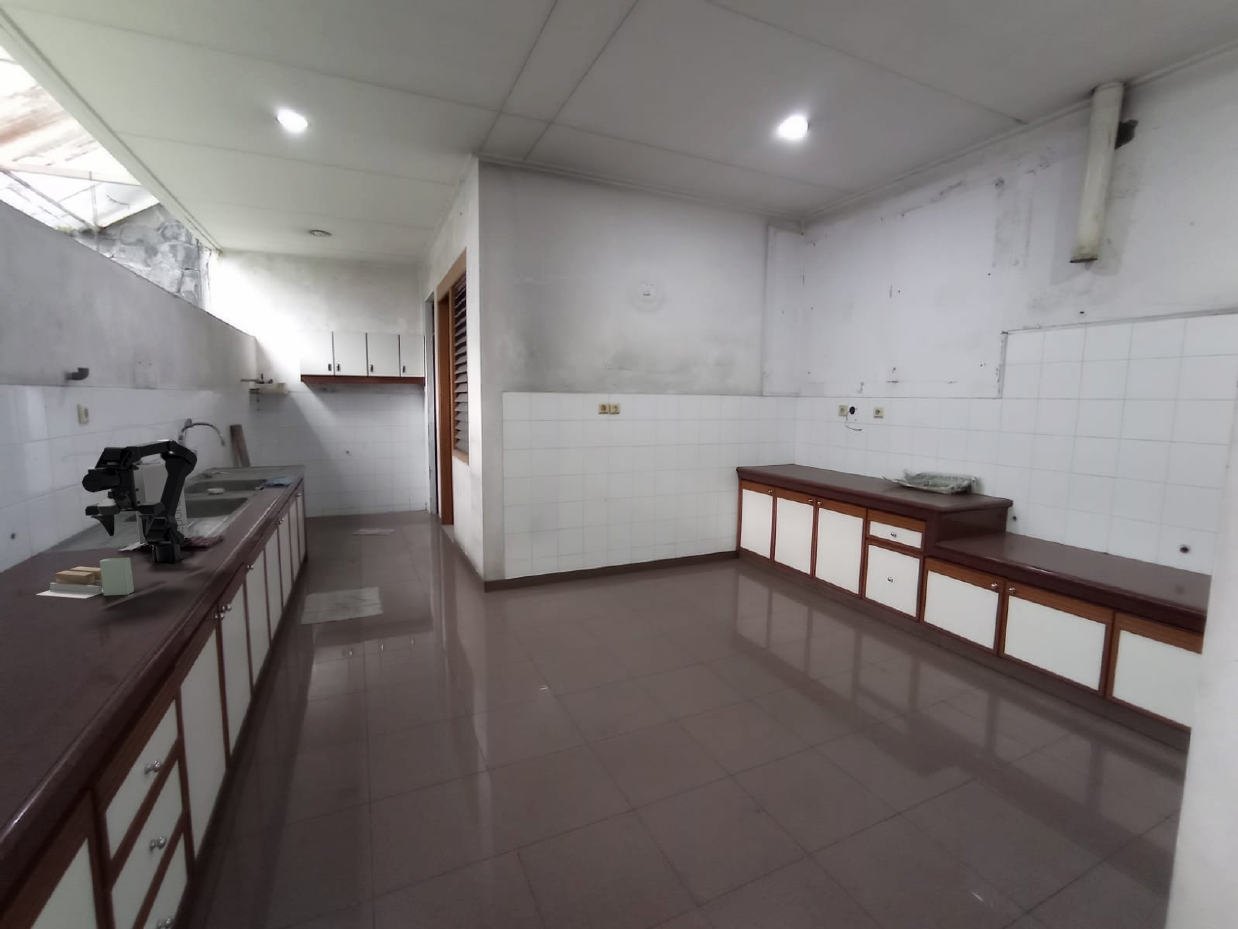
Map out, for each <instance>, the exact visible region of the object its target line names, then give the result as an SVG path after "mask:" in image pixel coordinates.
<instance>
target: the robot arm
mask: <svg viewBox="0 0 1238 929" xmlns="http://www.w3.org/2000/svg"><path fill="white" fill-rule="evenodd" d="M154 455H159V457H160V459H161V460H163V461H164V463H165V468H166V470H167V473H168V476H167V479H166V483H165V486H164V490H163V493H162V496H161V500H160V502H148V503H145V504H142V505H138V504H140V501H137V496H136V492H137V491H139V488H135V479H134V470H139V467H137V466H138V465H136V464H135V463H137V462H139V461H140V460H141V459H142V458H146V457H150V456H154ZM197 462H198V457H197V455H196V454H195V453H194V452H193V451H191V449H190V448H187V447H185V446H183V445H181V444H179V443H178V442H177V441H176V440H173V439H158V440H155V441H150V442H146V443H139V444H134V445H127V446H126V445H108V446H106V447H104V448H103V451H102V452H101V455H100V457H99V458H98V460H97V462H96V464H95V465H94V468H89V469H87V473H86V474H85V475H84V477H83V478H82V480H81V485H82V487H83V489H84V490H85V491H86V492H88V493H99V492H103V491H107V496H106V498H104V499H103V500H102V501H100V502H98V503H95V504H91V505H87V506H86V507H85V509H84V515H85V516H86V517H87V516H89V517H90V518H91V519H95V520H97V521H99V522H100V523H101V525H102V526H103V527H104V529H105V531H106V533H107V534H108V535H109V537H113V536H114V535H115V516H116V515H119V514H120V513H121V512H124V513H125V512H136V511H139V512H140V513H141V514H142V515H139V517H140V518H141V520H142V531H143V535H144V537H145V539H146V541H147V544H148V546H150V547H151V545H153V548H152V550H151V551H152V559H153V561H152V563H155V564H156V563H157V564H166V565H167V564H168V565H169V564H174V563H177V562H178V561H180V560H184V558H185V557H184V556H182V555H181V547H180V545H181V544H183V543H184V542H185V539H184V537H185V536H184V535H183V534H182V533H180V532H179V531H178V530H177V528H178V524H177V521H176V519H175V513H176V510H177V506H178V503H179V499H180V496H181V492H182V489H183V487H184V485H185V481H186V478H187V477H188V476H189V475H190V474H191V473H192V472H193V471H194V470H195V468H196V466H197ZM108 490H109V491H108Z"/></svg>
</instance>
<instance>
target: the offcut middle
mask: <svg viewBox="0 0 1238 929" xmlns="http://www.w3.org/2000/svg"><path fill="white" fill-rule="evenodd" d="M54 577H55V583H65V584H79V585H93V586H95V578H94V573H91V572H76V571H70V570H63V571H60V572H55V573H54Z"/></svg>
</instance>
